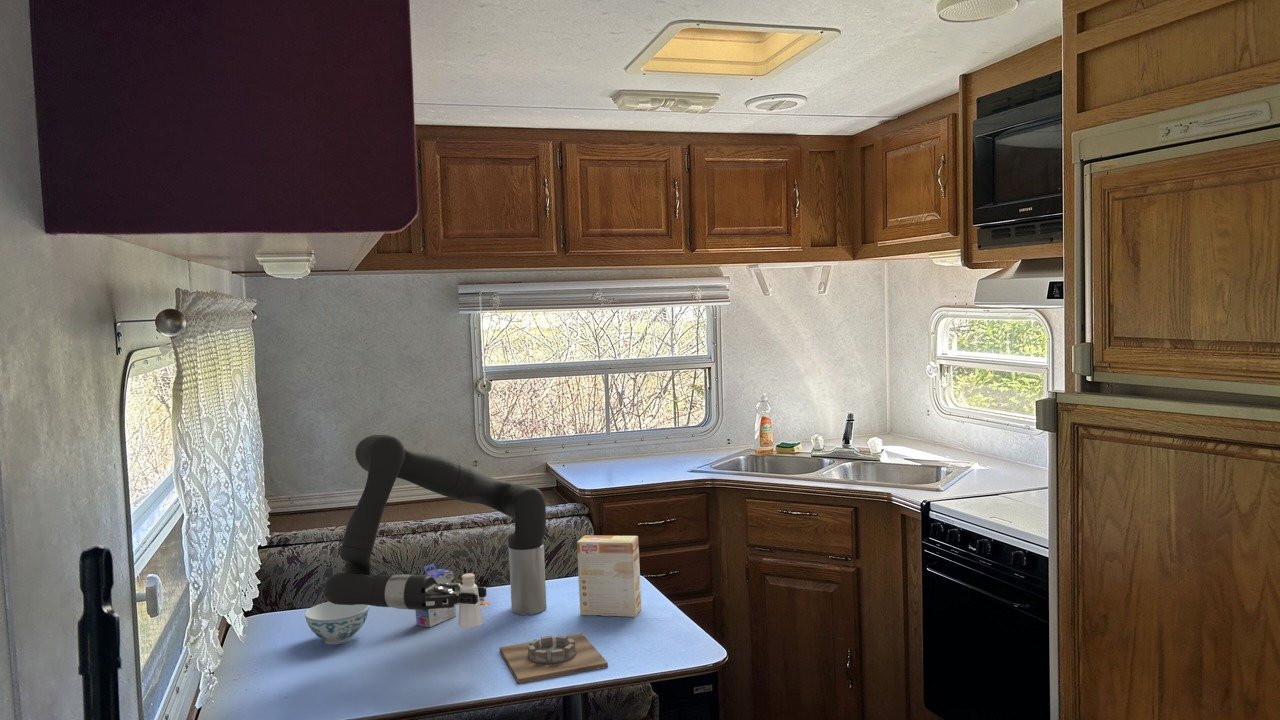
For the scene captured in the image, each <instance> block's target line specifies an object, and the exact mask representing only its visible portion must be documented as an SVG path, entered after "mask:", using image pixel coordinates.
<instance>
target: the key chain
mask: <svg viewBox="0 0 1280 720" xmlns="http://www.w3.org/2000/svg"><path fill="white" fill-rule="evenodd" d="M484 598H485V597H484ZM484 598H483V597H479V599H480V606H481V605H482V606H485V607H489V605H488V604H490V602H489V601H485V599H484Z"/></svg>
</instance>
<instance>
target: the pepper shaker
mask: <svg viewBox="0 0 1280 720" xmlns="http://www.w3.org/2000/svg"><path fill="white" fill-rule="evenodd" d="M475 576H476V575H475V574H474V573H471V572H469V573H468V572H467V573H464V574H462V575H461V580H462V583H463V586H461V587H460V593H477V595H478V602H477V603H476V604H462V603H461V604H459V605H458V623H457V624H458V626H459V627H460V628H463V629H473V628H477V627H478V628H479V626H481V625H482V624H484V619H483V614H482V607H481V602H480V599H479V593H478V588H477V586H478V585H477V584H476V583H475ZM460 595H461V594H460Z"/></svg>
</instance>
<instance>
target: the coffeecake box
mask: <svg viewBox="0 0 1280 720" xmlns="http://www.w3.org/2000/svg"><path fill="white" fill-rule="evenodd" d="M576 552H577V554H576V555H577V571H578V589H579V590H578V591H579V592H578V594H579V611H580V612H579V613H580V614H579V615H580V616H596V615H601V616H602V617H604V616H605V617H629V618H636V617H637V615H638V614H639V613H638V612H641V610H642V609H641V608H642V590H641V588H642V587H641V586H642V585H641V573H640V572H641V571H640V547H639V536H638V535H583V536H582V537H581V538H580V539H579V540H578V541H576Z"/></svg>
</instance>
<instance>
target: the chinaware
mask: <svg viewBox="0 0 1280 720" xmlns="http://www.w3.org/2000/svg"><path fill="white" fill-rule="evenodd" d="M369 610H370V605H337V604H333V603H331V602H330V601H327V602H323V603H320V604H316V605H314V606H312V607H310V608H308V609H307V610H305V612H304V617H305V621H306V623H307V625H308V627H309V629H310V630H311V632H312V633H314V635H315V636H317V637H318V638H320V639H322V640H324V643H325V644H327V645H333V646H334V645H341V644H346V643H349V642H350V641H352V640H353V639H354V636H355V634H356V633H358V632H359V631H360V630H361V628H362V627H363V625H364V624H365V622H366V621H367V618H368V614H369Z"/></svg>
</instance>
